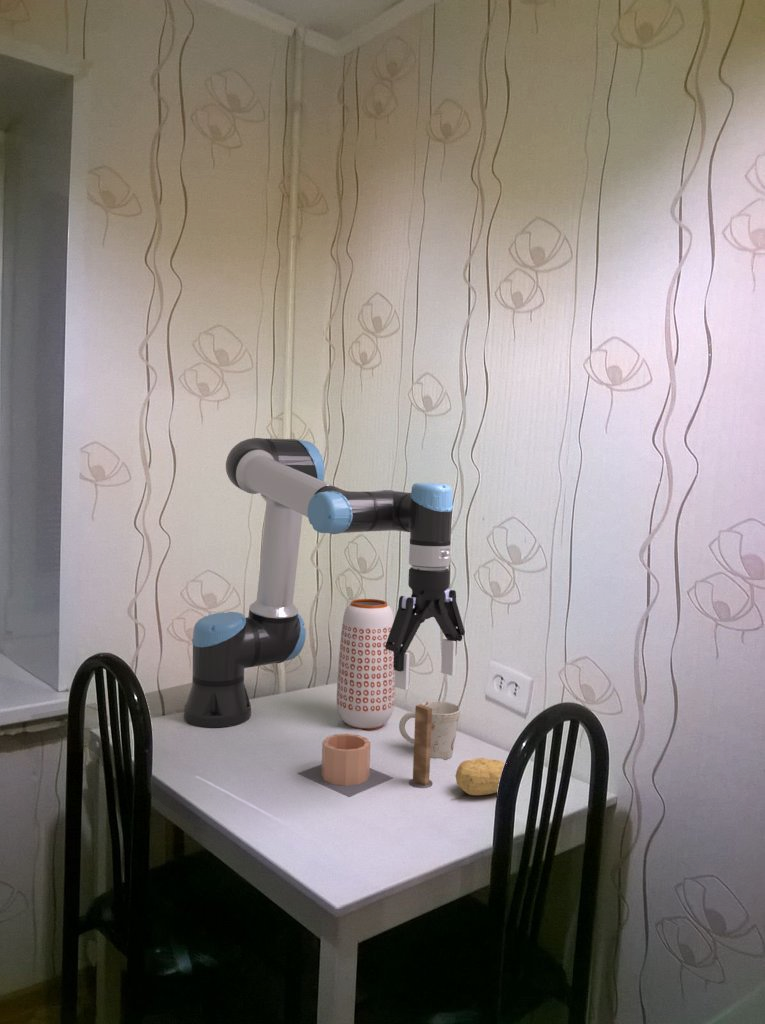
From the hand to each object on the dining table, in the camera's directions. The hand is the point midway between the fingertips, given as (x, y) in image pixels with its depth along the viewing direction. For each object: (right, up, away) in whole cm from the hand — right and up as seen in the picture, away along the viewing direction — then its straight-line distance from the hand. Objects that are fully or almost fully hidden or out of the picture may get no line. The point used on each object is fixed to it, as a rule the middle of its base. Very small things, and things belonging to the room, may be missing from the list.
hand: (425, 680), depth 144 cm
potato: (+11, -21, -1) cm, 23 cm away
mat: (-15, -19, +4) cm, 25 cm away
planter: (-12, -17, +34) cm, 40 cm away
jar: (-15, -19, +4) cm, 24 cm away
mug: (+1, -19, +17) cm, 26 cm away
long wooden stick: (-1, -20, +2) cm, 20 cm away
